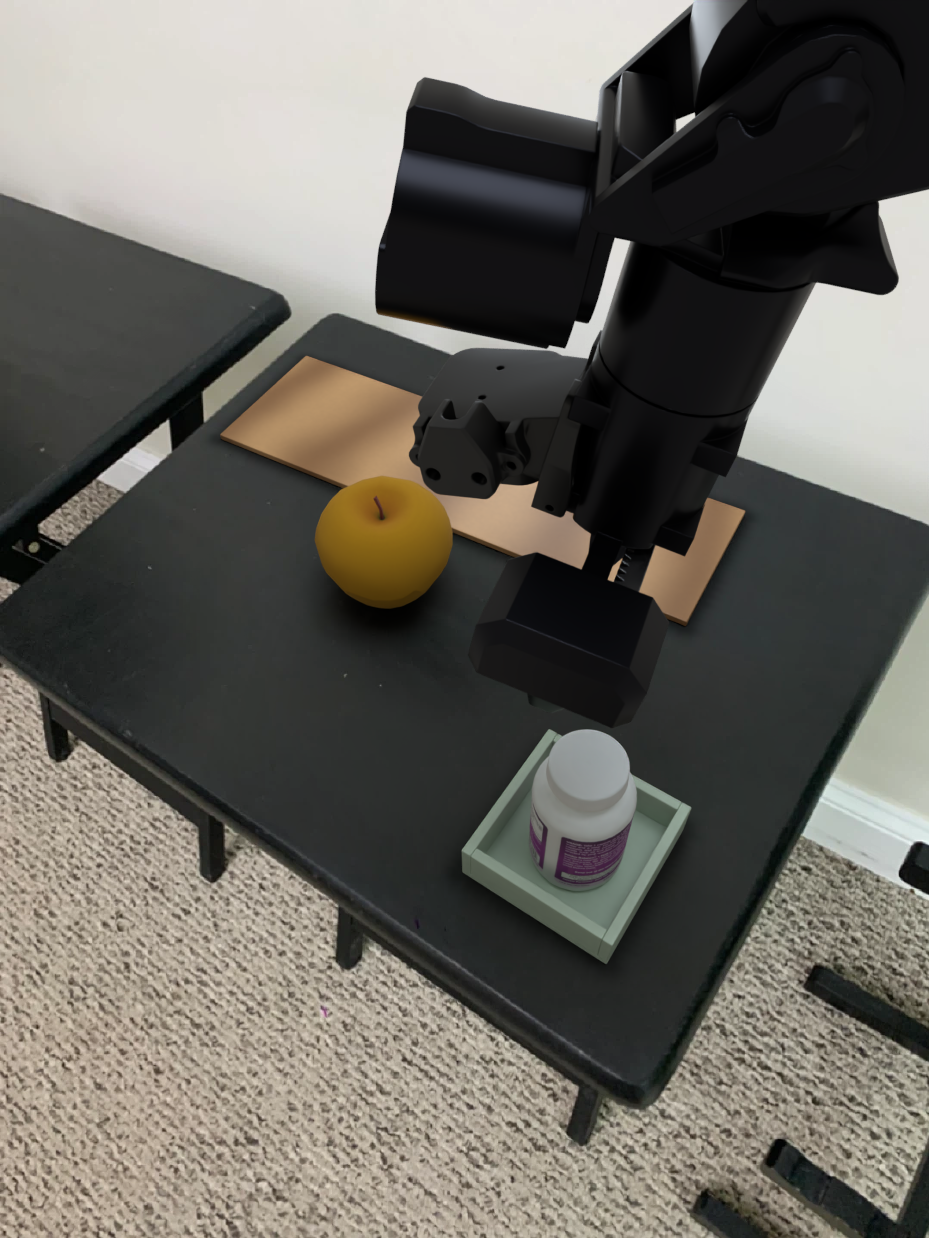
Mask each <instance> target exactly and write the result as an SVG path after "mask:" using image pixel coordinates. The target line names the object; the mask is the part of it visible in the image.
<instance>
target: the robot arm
mask: <svg viewBox="0 0 929 1238" xmlns="http://www.w3.org/2000/svg"><path fill="white" fill-rule="evenodd" d="M693 114H694V117H693V118H692V119H691V120H690V121H689V122H687V123H686V124H684V126H682V127H681V128H680V129H678V130H677V121H678V120H680V119H682V118H685V117H688V116H691V115H693ZM399 158H400V159H399V162H398V167H397V172H396V177H395V183H394V187H393V193H392V200H391V206H390V212H389V214H388V217H387V220H386V223H385V227H384V229H383V231H382V235H381V238H380V241H379V244H378V249H377V257H376V266H375V267H376V269H375V285H374V306H375V312H376V314H377V315H378V316H384V317H388V318H394V319H397V320H402V321H407V322H412V323H416V324H422V325H427V326H431V327H436V328H442V329H446V330H452V331H456V332H462V333H467V334H469V335H470V334H471V335H476V336H481V337H485V338H486V337H487V338H490V339H495V340H500V341H506V342H510V343H514V344H515V343H516V344H518V345H519V344H520V345H524V346H529V347H535V348H539V349H526V348H525V349H523V348H522V349H521V348H498V347H497V348H496V347H495V348H494V347H470V348H466V349H462V350H459V351H457V352H455V353H454V354H452V355H451V356H450V357H449V358H447V360H446V362H445V363H444V365H443V366H442V367H441V369H440V371H439V372H438V373H437V375H436V376H435V378H434V379H433V380H432V381H431V384H430V385H429V386H428V388H427V390H426V391H425V392H424V394H423V395H422V398H421V400H420V402H419V404H418V411H419V414H420V416H419V418H418V419H417V420H416V422H415V423H414V425H413V431H414V435H415V442H414V445H413V447H412V448H411V450H410V451H409V458H410V460H411V462H412V463H413V464H414V465H416V466H418V467H420V471H421V475H422V478H423V482H424V484H425V485H426V486H427V487H428V488H429V489H431V490H432V491H433V492H435V493H436V494H440V495H448V496H458V497H467V498H477V499H489V498H490V497H491V496H492V495H493V494H495V492H496V491H497V489H498V487H499V485H500V484H506V485H517V486H523V485H529V484H533V483H535V482H538V484H537V488H536V491H535V494H534V498H533V501H532V505H531V507H533V508H535V509H538V510H541V511H543V512H546V513H548V514H551V515H554V516H556V517H559V518H561V517H563V516H564V515H565V513H566V511H568V512H570V513H573V520H574V521H575V522H576V523H577V524H578V525H579V526H580V527H582V528H583V529H584V530H586V531H587V532H589V533H590V534H591V535H590V543H589V552H588V555H587V557H586V560H585V562H584V565H583V567H582V569H579V568H577V567H574V566H572V565H569V564H567V563H564V562H561V561H559V560H556V559H554V558H551V557H549V556H546V555H544V554H541V553H538V552H534V553H531V554H527V555H523V556H519V557H512V558H511V557H510V558H508V559H507V560H506V563H505V565H504V566H503V569H502V571H501V572H500V575H499V578H498V579H497V581H496V583H495V585H494V587H493V588H492V592H491V593H490V595H489V598H488V599H487V601H486V603H485V604H484V605H485V606H484V608H483V609H482V611H481V613H480V615H479V617H478V620H477V622H476V624H475V626H474V630H473V635H472V637H471V642H470V645H469V650H468V654H467V657H468V658H469V660H470V662H471V664H472V666H473V668H474V670H475V672H476V674H479V675H481V676H483V677H486V678H488V679H490V680H493V681H496V682H498V683H501V684H503V685H505V686H509V687H510V688H513V689H515V690H518V691H521V692H522V693H524V694H525V693H526V694H527V700H528V704H529V705H530V706H531V707H534V708H536V709H538V710H541V711H543V712H546V713H550V714H553V713H556V712H560V711H563V710H566V711H569V712H571V713H574V714H576V715H579V716H581V717H583V718H586V719H589V720H591V721H593V722H596V723H598V724H601V725H603V726H606V727H607V728H610V729H614V728H617V727H620V726H622V725H626V724H629V723H631V722H632V721H633V720H634V718H635V716H636V714H637V713H638V710H639V709H640V707H641V705H642V704H643V703H644V701H645V699H646V697H647V695H648V693H649V689H650V686H651V683H652V679H653V676H654V673H655V670H656V667H657V664H658V660H659V657H660V654H661V651H662V647H663V645H664V641H665V637H666V635H667V632H668V629H669V625H670V620H669V619H667V618H666V617H665V615H664V613H663V612H662V610H661V609H660V607H659V606H658V604H657V603H656V601H655V600H654V598H653V597H651V596H648V595H646V594H643V593H641V592H639V591H640V588H641V586H642V583H643V580H644V577H645V574H646V571H647V569H648V566H649V563H650V560H651V557H652V555H653V552H654V549H655V546H659V547H661V548H664V549H666V550H669V551H672V552H674V553H677V554H679V555H682V556H686V554H687V552H688V550H689V548H690V546H691V544H692V542H693V540H694V538H695V535H696V531H697V528H698V525H699V522H700V519H701V516H702V513H703V509H704V506H705V502H706V500H707V498H709V496H710V495H711V492H712V490H713V487H714V486H715V484H716V482H717V480H718V478H719V476H721V477H723V478H727V476H728V474H729V472H730V470H731V469H732V466H733V464H734V462H735V460H736V458H737V456H738V453H739V450H740V447H741V444H742V441H743V437H744V434H745V430H746V427H747V424H748V421H749V417H750V415H751V413H752V410H753V409H754V407H755V405H756V403H757V401H758V400H759V397H760V395H761V393H762V391H763V389H764V387H765V385H766V384H767V381H768V379H769V377H770V375H771V373H772V371H773V369H774V367H775V365H776V363H777V362H778V359H779V357H780V355H781V353H782V351H783V349H784V347H785V346H786V343H787V341H788V339H789V338H790V336H791V333H792V332H793V330H794V328H795V325H796V324H797V322H798V320H799V318H800V316H801V313H802V311H803V310H804V307H805V306H806V305H807V302H808V300H809V298H810V296H811V294H812V292H813V290H814V288H815V287H816V285H817V284H823V285H827V286H832V287H837V288H843V289H847V290H852V291H856V292H861V293H862V292H863V293H866V294H869V295H870V294H871V295H876V296H885V295H889V294H890V293H892V292H894V290H895V289H896V288H897V287H898V284H899V283H900V282H899V281H900V280H899V279H900V276H899V272H898V270H897V267H896V263H895V260H894V256H893V253H892V249H891V246H890V242H889V239H888V236H887V232H886V229H885V225H884V222H883V219H882V217H881V215H880V202H882V201H885V200H890V199H894V198H898V197H902V196H907V195H911V194H916V193H919V192H924V191H929V0H693V3H691V4H690V5H688V7H687V8H686V9H684V10H683V12H681V13H680V14H679V15H678V16H677V17H675V18H674V20H672V21H671V22H670V23H668V25H667V26H666V27H665V28H663V29H662V30H661V31H660V32H659V33H658V34H656V36H654V37H653V38H652V39H651V40H650V41H649V42H648V43H646V45H644V47H642V48H641V49H640V50H639V51H638V52H636V54H635V55H633V56H632V57H631V58H630V59H629V60H627V61H626V62H625V63H624V64H623V65H622V66H620V68H619V69H617V71H615V72H614V73H613V74H612V75H611V76H610V77H609V78H608V79H607V80H605V81H604V82H603V83H602V84H601V86H600V88H599V90H598V102H597V111H596V117H595V120H592V119H586V118H582V117H577V116H572V115H568V114H563V113H558V112H554V111H549V110H545V109H540V108H536V107H531V106H526V105H521V104H517V103H512V102H507V101H502V100H499V99H498V100H497V99H494V98H491V97H488V96H486V95H483V94H481V93H479V92H478V91H475V90H474V89H472V88H470V87H468V86H465V85H462V84H458V83H456V82H455V83H454V82H449V81H445V80H440V79H436V78H433V77H428V76H424V77H422V78H421V79H420V80H418V81H417V82H416V85H415V88H414V90H413V92H412V95H411V98H410V100H409V103H408V106H407V109H406V112H405V120H404V131H403V142H402V149H401V153H400V157H399ZM615 239H618V240H623V241H628V242H629V244H628V247H627V250H626V254H625V257H624V260H623V262H622V267H621V269H620V273H619V276H618V279H617V282H616V285H615V288H614V292H613V295H612V298H611V301H610V305H609V308H608V310H607V313H606V318H605V321H604V323H603V327H602V329H600V330H599V332H598V333H597V336H596V337H595V340H594V341H593V344H592V345H591V348H590V351H589V354H588V357H587V358H586V357H580V356H579V357H578V356H573V355H571V356H570V355H562V354H560V353H559V352H557V351H553V350H548V348H549V347H554V348H558V349H566V347H567V345H568V343H569V340H570V338H571V334H572V331H573V329H574V326H575V322H577V323H582V324H589V323H590V321H591V320H592V317H593V315H594V312H595V310H596V307H597V304H598V301H599V298H600V295H601V291H602V287H603V284H604V279H605V276H606V272H607V267H608V265H609V261H610V256H611V252H612V249H613V246H614V243H615ZM621 559H622V561H621V563H620V567H619V569H618V571H617V574H616V577H615V579H614V582H612V581H610V580H608V577H609V575H610V572H611V570H612V567H613V566H614V565H615V564H616V563H617V562H618V561H620V560H621Z"/></svg>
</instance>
